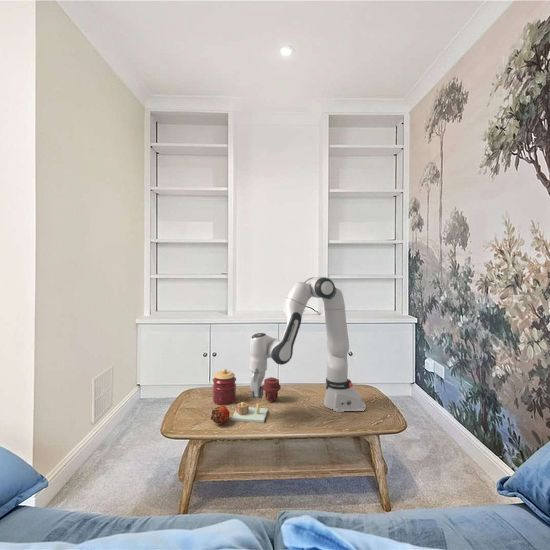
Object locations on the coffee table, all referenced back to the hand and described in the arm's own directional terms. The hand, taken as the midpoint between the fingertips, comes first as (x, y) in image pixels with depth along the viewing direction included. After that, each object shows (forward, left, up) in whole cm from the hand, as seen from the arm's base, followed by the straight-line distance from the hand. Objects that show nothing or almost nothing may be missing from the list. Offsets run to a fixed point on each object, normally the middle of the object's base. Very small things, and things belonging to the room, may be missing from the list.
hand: (257, 393), depth 163 cm
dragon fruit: (+17, +9, -12) cm, 22 cm away
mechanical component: (-4, -19, -12) cm, 23 cm away
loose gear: (0, 0, -2) cm, 2 cm away
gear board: (+4, 0, -12) cm, 12 cm away
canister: (+22, -15, -12) cm, 29 cm away
